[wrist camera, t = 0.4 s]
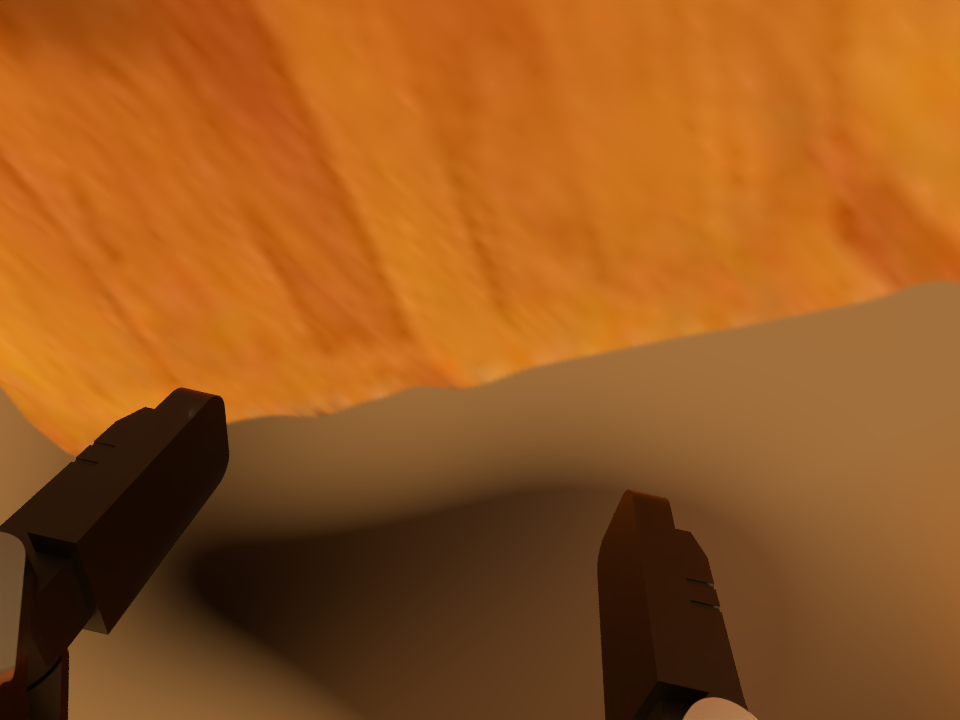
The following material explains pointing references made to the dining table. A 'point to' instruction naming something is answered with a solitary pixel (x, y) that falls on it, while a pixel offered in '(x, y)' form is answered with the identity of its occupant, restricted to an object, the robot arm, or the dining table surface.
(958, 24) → the dining table surface
